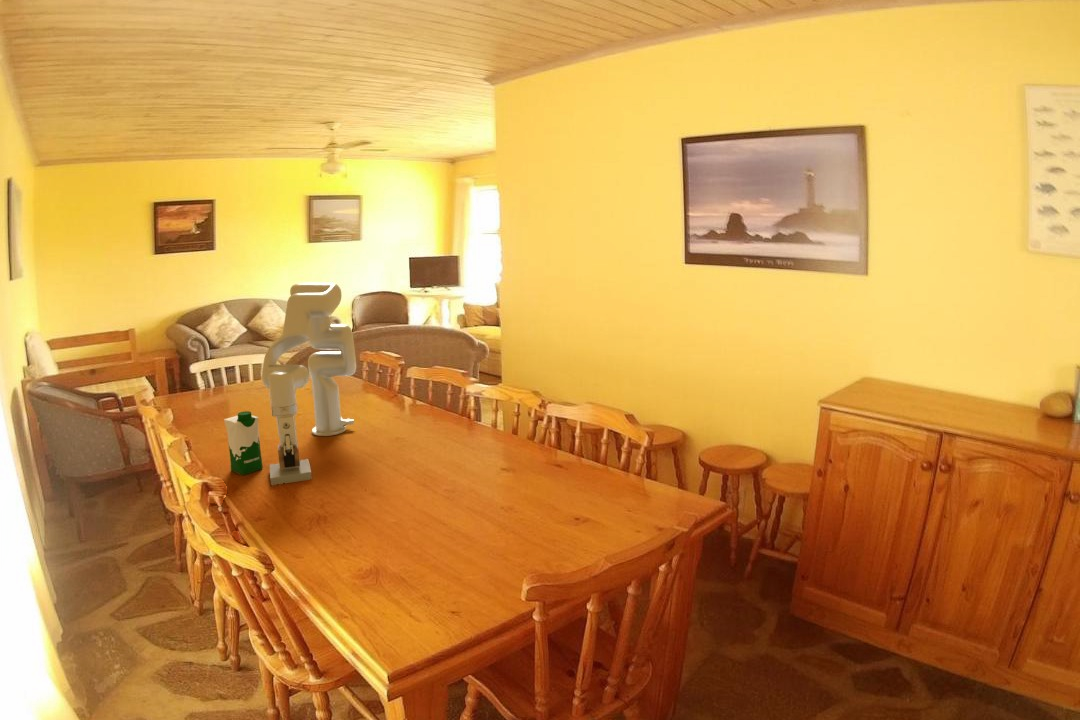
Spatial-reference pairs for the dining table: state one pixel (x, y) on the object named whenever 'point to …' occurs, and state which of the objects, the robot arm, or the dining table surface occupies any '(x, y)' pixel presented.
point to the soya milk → (244, 443)
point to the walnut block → (281, 457)
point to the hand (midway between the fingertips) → (289, 462)
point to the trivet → (290, 473)
